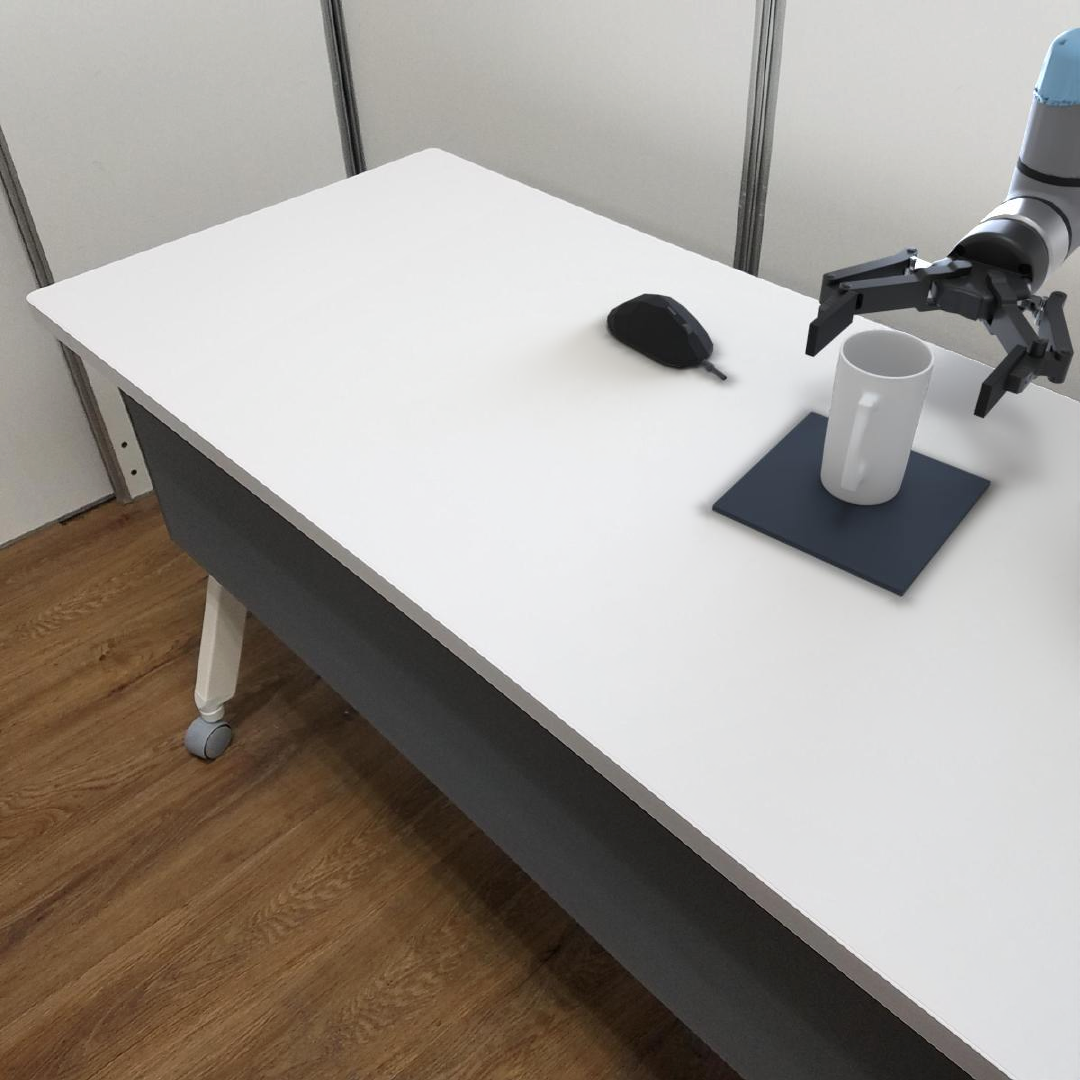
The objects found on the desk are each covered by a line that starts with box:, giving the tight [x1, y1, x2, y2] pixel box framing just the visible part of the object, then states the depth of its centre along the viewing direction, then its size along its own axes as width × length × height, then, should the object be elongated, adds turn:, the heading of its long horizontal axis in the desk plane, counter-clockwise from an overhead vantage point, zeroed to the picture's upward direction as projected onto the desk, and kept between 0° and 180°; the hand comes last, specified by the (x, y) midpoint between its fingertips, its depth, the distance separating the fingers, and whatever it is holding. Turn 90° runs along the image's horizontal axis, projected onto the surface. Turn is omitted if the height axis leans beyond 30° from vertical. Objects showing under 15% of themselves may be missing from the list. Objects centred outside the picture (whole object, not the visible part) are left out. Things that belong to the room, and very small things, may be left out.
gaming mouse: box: [606, 293, 728, 381], centre depth 106 cm, size 6×15×4 cm, turn 38°
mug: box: [821, 328, 936, 505], centre depth 85 cm, size 10×7×12 cm, turn 153°
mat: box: [711, 411, 992, 597], centre depth 90 cm, size 16×16×1 cm
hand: (893, 369), depth 84 cm, fingers open, 13 cm apart
